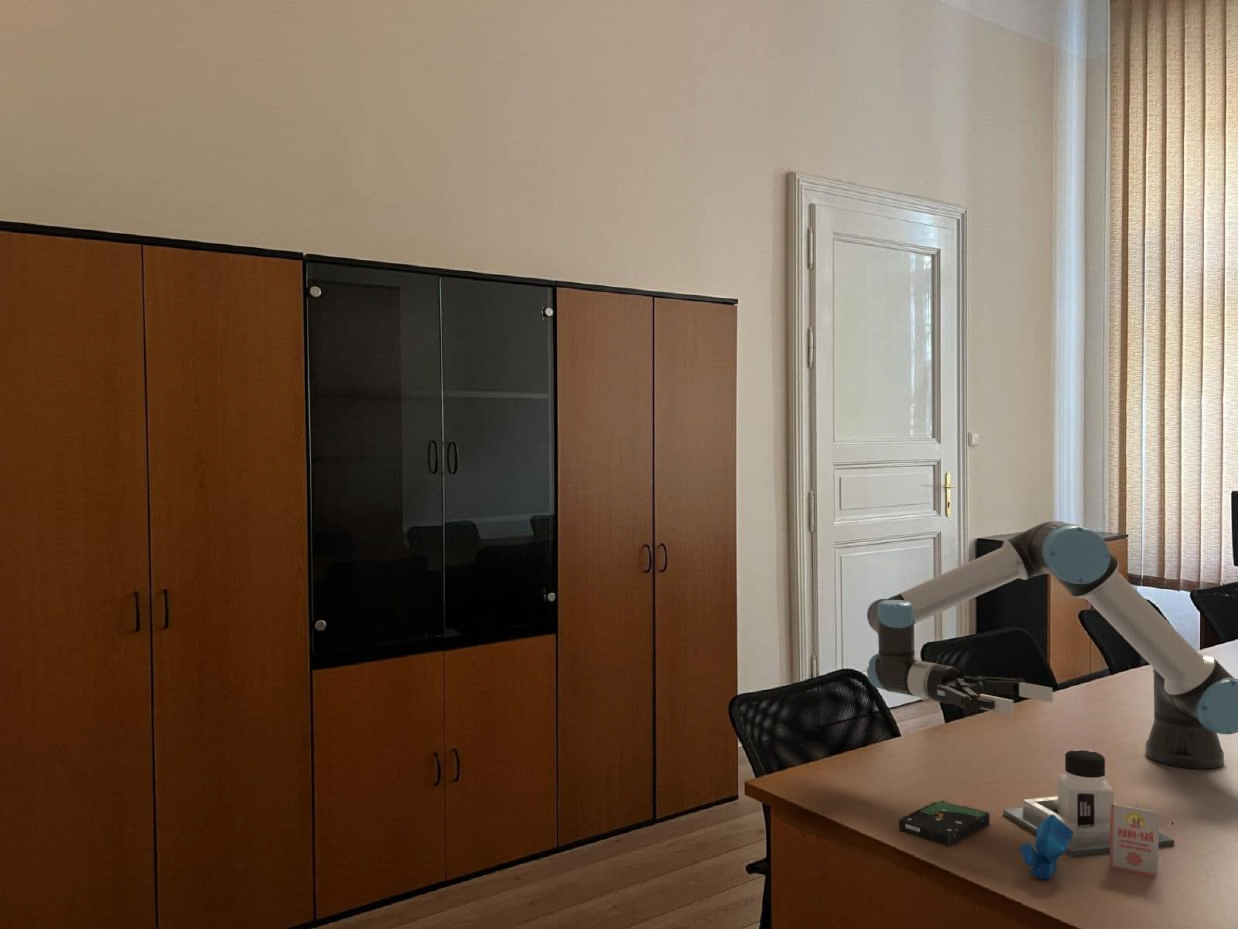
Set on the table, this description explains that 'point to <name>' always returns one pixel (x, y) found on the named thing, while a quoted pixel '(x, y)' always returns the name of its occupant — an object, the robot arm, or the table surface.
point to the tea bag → (1134, 840)
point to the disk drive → (944, 822)
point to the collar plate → (1084, 836)
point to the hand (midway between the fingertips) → (1032, 701)
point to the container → (1084, 789)
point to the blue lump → (1047, 847)
